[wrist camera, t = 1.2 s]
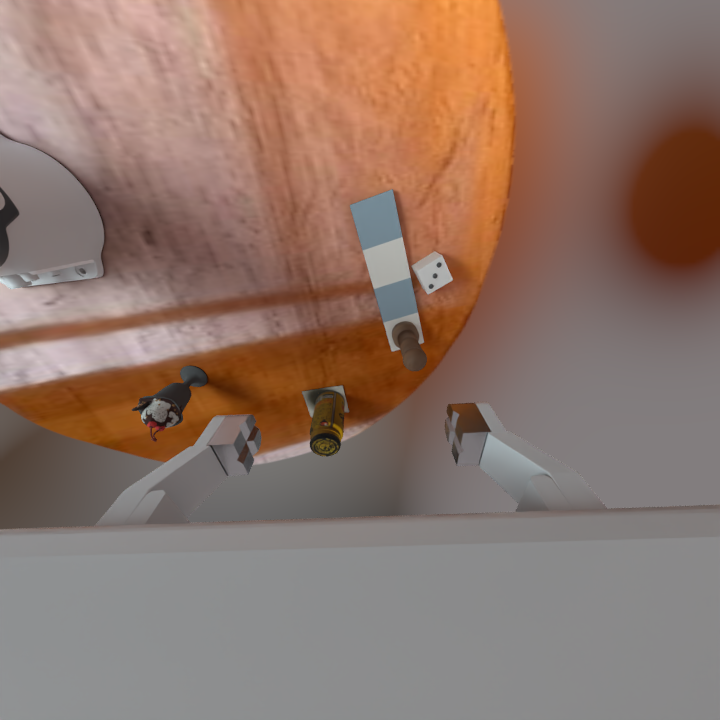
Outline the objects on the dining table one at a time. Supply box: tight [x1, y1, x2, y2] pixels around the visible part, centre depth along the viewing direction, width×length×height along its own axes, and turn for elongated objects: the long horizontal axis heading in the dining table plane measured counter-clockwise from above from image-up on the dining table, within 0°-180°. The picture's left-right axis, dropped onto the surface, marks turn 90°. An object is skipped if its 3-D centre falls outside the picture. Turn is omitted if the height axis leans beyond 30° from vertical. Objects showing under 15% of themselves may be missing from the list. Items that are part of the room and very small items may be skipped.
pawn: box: [392, 321, 427, 371], centre depth 40 cm, size 4×4×11 cm
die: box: [411, 251, 453, 294], centre depth 39 cm, size 4×4×4 cm
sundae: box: [132, 366, 207, 441], centre depth 44 cm, size 7×7×15 cm
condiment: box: [302, 386, 349, 456], centre depth 49 cm, size 7×8×12 cm
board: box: [350, 189, 424, 352], centre depth 41 cm, size 6×24×1 cm, turn 17°
